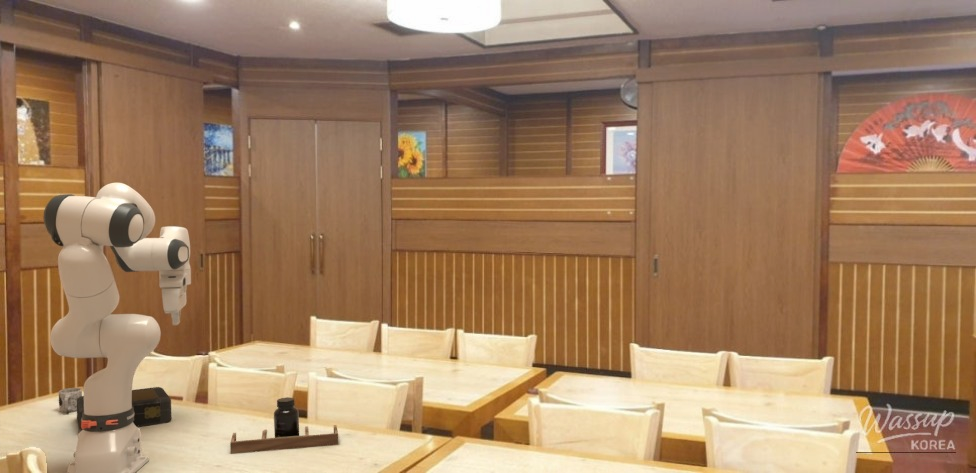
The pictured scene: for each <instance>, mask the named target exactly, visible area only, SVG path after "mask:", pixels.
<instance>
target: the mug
mask: <svg viewBox="0 0 976 473" xmlns="http://www.w3.org/2000/svg"><path fill="white" fill-rule="evenodd" d="M82 389H83V388H81V387H69V388H63V389H60V390H58V412H59V413H60V414H61V413H62V414H69V413H71V414H72V413H77V398H79V397H80V396H83V390H82Z"/></svg>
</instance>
